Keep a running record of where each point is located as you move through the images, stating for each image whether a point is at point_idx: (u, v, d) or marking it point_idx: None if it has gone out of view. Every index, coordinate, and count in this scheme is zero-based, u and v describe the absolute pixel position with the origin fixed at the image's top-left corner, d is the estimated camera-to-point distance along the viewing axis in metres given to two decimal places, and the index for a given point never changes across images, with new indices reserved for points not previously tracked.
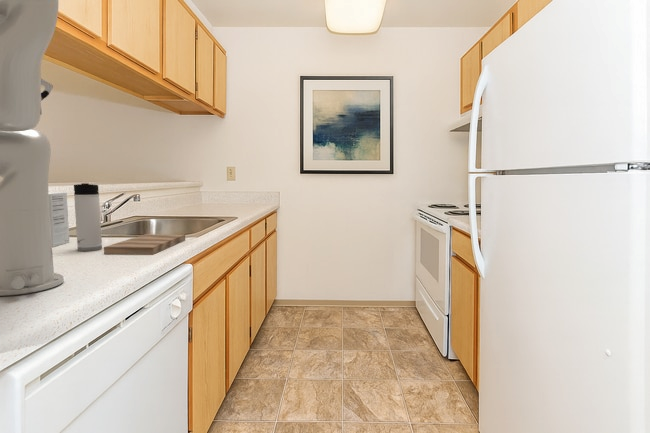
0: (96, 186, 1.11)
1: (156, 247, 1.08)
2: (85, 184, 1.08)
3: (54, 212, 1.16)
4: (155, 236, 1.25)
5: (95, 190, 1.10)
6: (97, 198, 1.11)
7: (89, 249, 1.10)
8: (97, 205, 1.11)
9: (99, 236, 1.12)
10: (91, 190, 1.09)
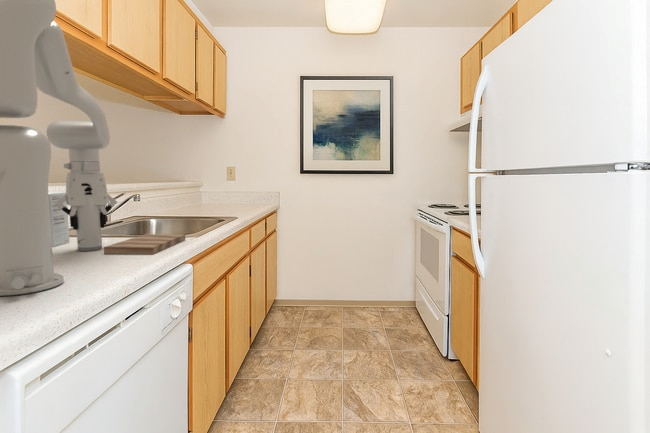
0: None
1: (156, 247, 1.08)
2: (85, 184, 1.08)
3: (54, 212, 1.16)
4: (155, 236, 1.25)
5: None
6: None
7: (89, 249, 1.10)
8: None
9: (99, 236, 1.12)
10: None
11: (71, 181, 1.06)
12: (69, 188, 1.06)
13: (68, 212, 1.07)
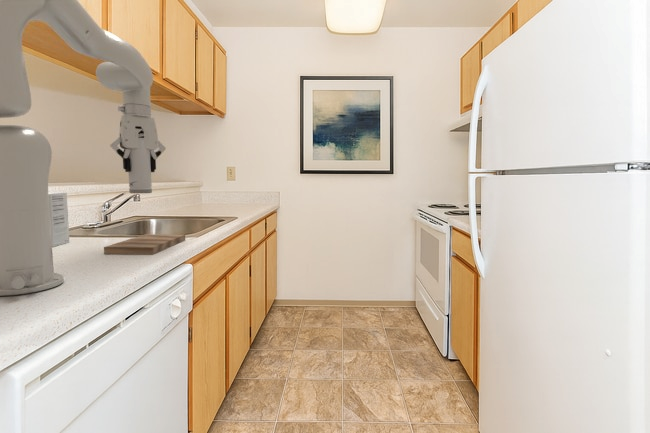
0: None
1: (156, 247, 1.08)
2: (138, 127, 1.11)
3: (54, 212, 1.16)
4: (155, 236, 1.25)
5: None
6: None
7: (141, 191, 1.13)
8: None
9: (150, 180, 1.15)
10: (143, 133, 1.12)
11: (126, 123, 1.09)
12: (124, 130, 1.09)
13: (122, 154, 1.10)
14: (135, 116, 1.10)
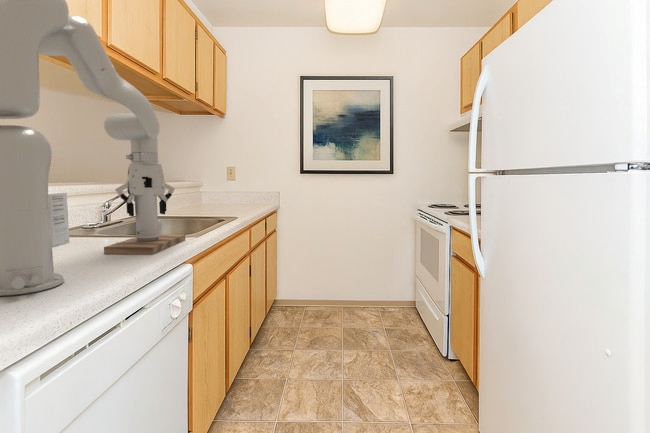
0: None
1: (156, 247, 1.08)
2: (145, 177, 1.13)
3: (54, 212, 1.16)
4: None
5: None
6: None
7: (148, 240, 1.15)
8: (155, 198, 1.16)
9: (156, 227, 1.17)
10: (150, 183, 1.14)
11: (133, 171, 1.11)
12: (132, 178, 1.11)
13: (126, 199, 1.12)
14: (142, 164, 1.12)
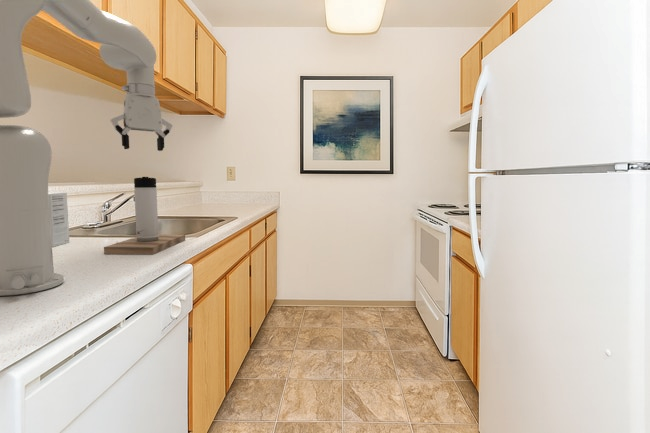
0: (154, 179, 1.16)
1: (156, 247, 1.08)
2: (145, 177, 1.13)
3: (54, 212, 1.16)
4: None
5: (154, 183, 1.15)
6: (155, 191, 1.16)
7: (148, 240, 1.15)
8: (155, 198, 1.16)
9: (156, 227, 1.17)
10: (150, 183, 1.14)
11: (130, 102, 1.09)
12: (128, 109, 1.09)
13: (121, 130, 1.09)
14: (139, 96, 1.10)
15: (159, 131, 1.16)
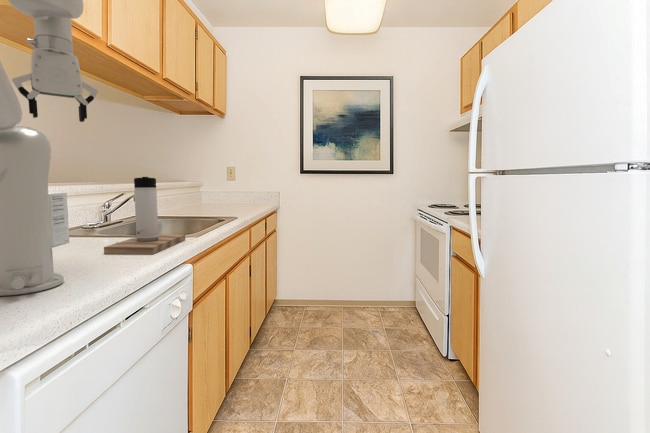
0: (154, 179, 1.16)
1: (156, 247, 1.08)
2: (145, 177, 1.13)
3: (54, 212, 1.16)
4: None
5: (154, 183, 1.15)
6: (155, 191, 1.16)
7: (148, 240, 1.15)
8: (155, 198, 1.16)
9: (156, 227, 1.17)
10: (150, 183, 1.14)
11: (36, 59, 0.88)
12: (34, 67, 0.88)
13: (26, 94, 0.88)
14: (49, 51, 0.89)
15: (79, 97, 0.95)
